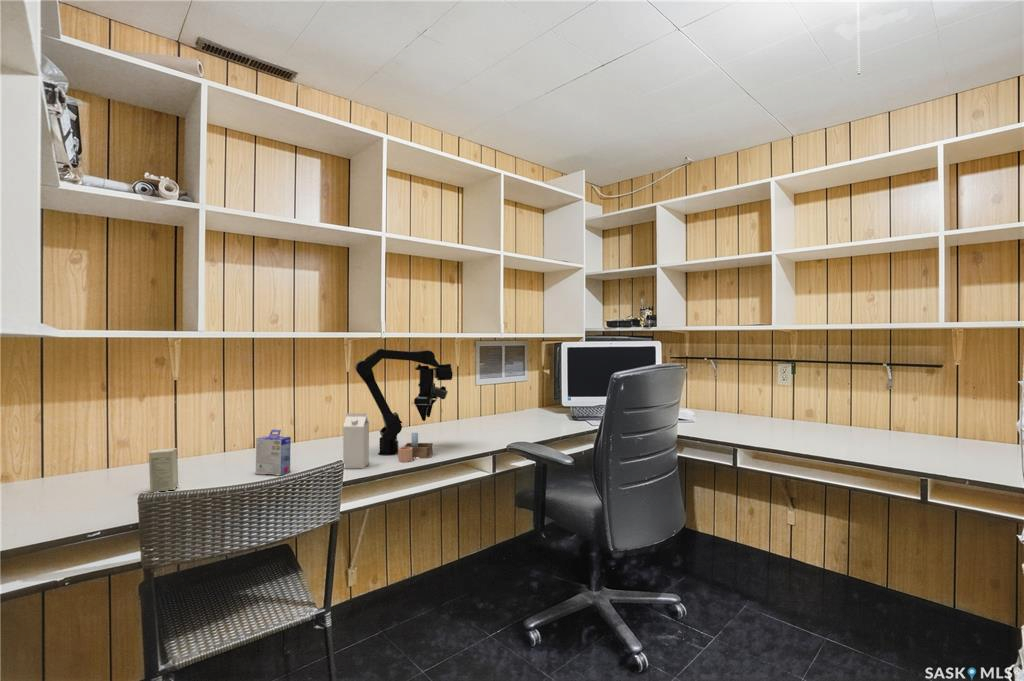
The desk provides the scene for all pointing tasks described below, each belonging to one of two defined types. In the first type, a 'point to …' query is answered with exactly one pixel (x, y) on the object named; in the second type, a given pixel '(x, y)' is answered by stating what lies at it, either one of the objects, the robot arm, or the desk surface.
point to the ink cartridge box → (273, 454)
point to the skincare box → (163, 469)
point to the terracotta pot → (405, 454)
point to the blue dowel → (414, 439)
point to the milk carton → (356, 440)
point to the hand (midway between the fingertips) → (426, 418)
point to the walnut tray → (421, 449)
